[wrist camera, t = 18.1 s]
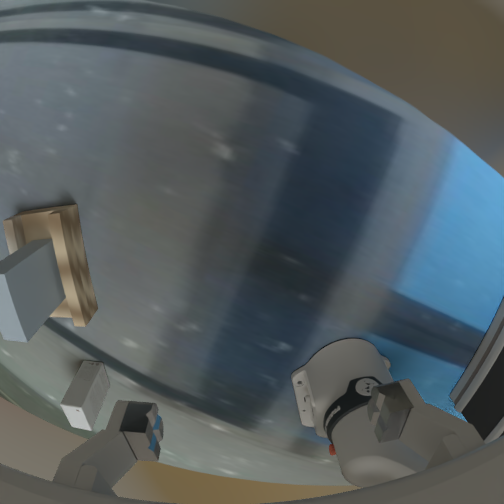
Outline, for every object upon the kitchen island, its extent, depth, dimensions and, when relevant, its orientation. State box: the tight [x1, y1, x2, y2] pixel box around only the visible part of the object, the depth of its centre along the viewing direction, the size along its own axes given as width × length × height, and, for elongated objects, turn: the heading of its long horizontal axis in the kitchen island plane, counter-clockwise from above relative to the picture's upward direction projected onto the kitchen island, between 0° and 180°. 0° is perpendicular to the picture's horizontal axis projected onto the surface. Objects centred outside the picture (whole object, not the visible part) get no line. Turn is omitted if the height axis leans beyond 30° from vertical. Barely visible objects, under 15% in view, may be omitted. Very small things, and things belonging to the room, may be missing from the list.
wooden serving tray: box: [3, 204, 98, 327], centre depth 42 cm, size 17×11×6 cm, turn 2°
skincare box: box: [60, 360, 110, 431], centre depth 46 cm, size 6×4×12 cm
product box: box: [0, 239, 66, 342], centre depth 35 cm, size 4×9×13 cm, turn 2°
